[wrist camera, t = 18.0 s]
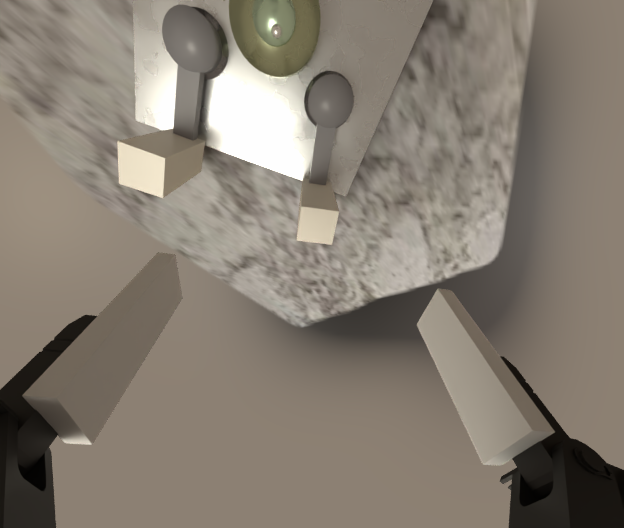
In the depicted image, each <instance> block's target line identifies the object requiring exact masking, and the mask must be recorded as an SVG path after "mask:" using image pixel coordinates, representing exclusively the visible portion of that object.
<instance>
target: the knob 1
mask: <svg viewBox="0 0 624 528" xmlns="http://www.w3.org/2000/svg"><path fill="white" fill-rule="evenodd" d="M162 35H163V40H164V44H165V46H166V49H167V51H168V53H169V54H170V56H171V57H172V59H173V60H174V61H175V62H176V63H177V64H178V68H177V82H176V96H175V111H174V125H173V129H168V130H163V131H159V132H155V133H150V134H146V135H142V136H137V137H133V138H129V139H124V140H120V141H117V142H118V167H119V184H122V185H125V186H128V187H131V188H134V189H137V190H140V191H143V192H146V193H149V194H152V195H155V196H158V197H161V198H164V197H165V196H167V195H168V194H169V193H171V192H172V191H174V190H175V189H177V188H178V187H180V186H181V185H182V184H184V183H185V182H187V181H188V180H190V179H191V178H192V177H194V176H195V175H197V174H198V173H200V172H201V169H202V161H203V154H204V146H205V141H203V140H201V139H198V138H197V135H198V127H199V119H200V110H201V102H202V93H203V85H204V76H205V74H208V73H211V72H213V71H214V70H215V69H216V68H217V67H218V65H219V63H220V61H221V57H222V44H221V40H220V36H219V34H218V32H217V30H216V28H215V27H214V25H213V24H212V23H211V21H209V20H208V19H207V18H206V17H205V16H204V15H202V14H201V13H200V12H198V11H197V10H196V9H194V8H193V7H190V6H188V5H176V6H173V7H172V8H170V9H169V10H168V11H167V13H166V14H165V16H164V19H163V23H162Z"/></svg>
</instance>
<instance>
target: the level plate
mask: <svg viewBox="0 0 624 528" xmlns="http://www.w3.org/2000/svg"><path fill="white" fill-rule="evenodd" d="M432 2H433V0H133V20H134V62H135V103H136V121H139V122H142V123H145V124H147V125H150V126H153V127H156V128H158V129H161V130H168V129H173V125H174V111H175V96H176V82H177V68H178V64H177V63H176V62H175V61H174V60H173V59H172V57H171V56H170V54H169V53H168V51H167V49H166V46H165V44H164V40H163V35H162V23H163V19H164V16H165V14H166V13H167V11H168V10H169V9H170V8H172V7H173V6H176V5H188V6H190V7H193V8H194V9H196V10H197V11H198V12H200V13H201V14H202V15H204V16H205V17H206V18H207V19H208V20H209V21H211V23H212V24H213V25H214V27H215V28H216V30H217V32H218V34H219V36H220V40H221V44H222V57H221V61H220V63H219V65H218V67H217V68H216V69H215V70H214V71H213V72H211V73H208V74H205V76H204V85H203V93H202V102H201V110H200V119H199V127H198V135H197V138H198V139H201V140H203V141H205V146H208V147H211V148H213V149H216V150H219V151H222V152H225V153H227V154H230V155H233V156H236V157H238V158H241V159H244V160H247V161H249V162H252V163H255V164H258V165H260V166H263V167H266V168H269V169H271V170H274V171H277V172H280V173H282V174H285V175H288V176H291V177H294V178H296V179H299V180H302V181H303V178H304V179H309V177H310V169H311V162H312V155H313V148H314V141H315V133H316V126H317V123H316V122H315V121H314V119H313V118H312V116H311V114H310V111H309V106H308V98H309V94H310V91H311V88H312V87H313V85H314V84H315V82H316V81H317V80H318V79H320V78H321V77H323V76H325V75H329V74H334V75H338V76H341V77H342V78H344V79H345V80H346V81H347V82H348V84H349V85H350V87H351V89H352V93H353V107H352V111H351V113H350V115H349V117H348V118H347V120H346V121H345V122H344V123H343V124H341V125H340V126H338V127H336V130H335V136H334V142H333V147H332V153H331V159H330V164H329V170H328V176H327V181H326V182H331V184H332V188H333V191H334V192H335V193H338V194H340V195H343V196H346V195H347V193H348V191H349V188H350V186H351V184H352V182H353V179H354V177H355V175H356V173H357V170H358V168H359V166H360V164H361V161H362V159H363V157H364V155H365V152H366V150H367V148H368V146H369V143H370V141H371V139H372V137H373V134H374V132H375V130H376V128H377V126H378V123H379V121H380V119H381V117H382V114H383V112H384V110H385V108H386V105H387V103H388V101H389V99H390V96H391V94H392V92H393V90H394V87H395V85H396V83H397V81H398V78H399V76H400V74H401V72H402V69H403V67H404V65H405V63H406V60H407V58H408V56H409V54H410V51H411V49H412V47H413V45H414V42H415V40H416V38H417V36H418V33H419V31H420V29H421V27H422V25H423V22H424V20H425V18H426V16H427V13H428V11H429V9H430V7H431V4H432Z"/></svg>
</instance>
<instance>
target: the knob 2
mask: <svg viewBox="0 0 624 528" xmlns="http://www.w3.org/2000/svg"><path fill="white" fill-rule="evenodd" d="M308 106H309V111H310V114H311V116H312V118H313V119H314V121H315V122H316V123H317V126H316V133H315V141H314V148H313V155H312V162H311V169H310V177H309V179H304V178H303V181H302V189H301V197H300V205H299V217H298V230H297V240H298V241H306V242H314V243H322V244H330V245H332V242H333V237H334V232H335V228H336V223H337V219H338V214H339V210H338V206H337V202H336V199H335V195H334V191H333V188H332V184H331V182H326V181H327V176H328V170H329V164H330V159H331V153H332V147H333V142H334V136H335V130H336V127H338V126H340V125H341V124H343V123H344V122H345V121H346V120H347V118H348V117H349V115H350V113H351V111H352V107H353V93H352V89H351V87H350V85H349V84H348V82H347V81H346V80H345V79H344V78H342V77H341V76H338V75H334V74H329V75H325V76H323V77H321V78H320V79H318V80H317V81H316V82H315V84H314V85H313V87H312V88H311V91H310V94H309V98H308Z"/></svg>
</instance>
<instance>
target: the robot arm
mask: <svg viewBox="0 0 624 528" xmlns="http://www.w3.org/2000/svg"><path fill="white" fill-rule="evenodd" d="M181 300H182V293H181V286H180V280H179V274H178V268H177V262H176V255H175V254H167V253H159V252H158V253H157V254H156V255H155V256H154V257H153V258H152V259H151V260H150V261H149V262H148V263H147V265H146V266H145V267H144V268H143V269H142V270H141V271H140V272H139V273H138V274H137V275H136V276H135V277H134V278H133V279H132V280H131V282H129V284H128V285H127V286H126V287H125V288H124V289H123V290H122V291H121V292H120V293H119V294H118V295H117V296H116V297H115V298H114V299H113V300H112V301H111V303H109V305H108V306H107V307H106V308H105V309H104V310H103V311H102V312H101V313H100V314H99V315H98V316H92V315H84V316H82V317H81V318H79V319H77V320H76V321H74V322H72V323H70V324H69V325H67V326H66V327H65V328H64V329H63V330H62V331H61V332H60V333H59V334H58V335H57V336H56V337H55V338H54V340H53V341H51V342H50V343H49V344H48V345H46V347H44V348H43V351H42V352H39V353H38V354H37V355H36V356H35V357H34V358H33V359H32V360H31V361H30V362H29V363H28V364H27V365H26V366H25V367H23V369H21V371H19V372H18V373H17V374H16V375H15V376H14V377H13V378H12V379H11V380H10V381H9V382H8V383H7V384H6V385H5V386H4V387H3V388H2V389H1V390H0V528H56V521H55V505H54V489H53V474H52V473H53V472H52V456H51V451H50V448H49V446H50V445H51V443H52V442H53V441H54V439H55V438H56V437H57V435H58V436H59V437H60V438H61V439H62V440H63V441H64V442H65V443H71V444H91V445H92V444H93V443H94V441H95V439H96V438H97V436H98V435H99V433H100V431H101V430H102V428H103V426H104V425H105V423H106V422H107V420H108V418H109V417H110V415H111V413H112V412H113V410H114V408H115V407H116V405H117V404H118V402H119V401H120V399H121V397H122V396H123V394H124V392H125V391H126V389H127V387H128V386H129V384H130V383H131V381H132V379H133V378H134V376H135V374H136V373H137V371H138V370H139V368H140V366H141V365H142V363H143V362H144V360H145V358H146V357H147V355H148V353H149V352H150V350H151V348H152V347H153V345H154V344H155V342H156V340H157V339H158V337H159V335H160V334H161V332H162V331H163V329H164V327H165V326H166V324H167V323H168V321H169V319H170V318H171V316H172V314H173V313H174V311H175V310H176V308H177V306H178V305H179V303H180V301H181ZM417 326H418V328H419V331H420V333H421V335H422V337H423V339H424V341H425V343H426V345H427V348H428V350H429V352H430V354H431V356H432V358H433V360H434V362H435V364H436V366H437V369H438V371H439V373H440V375H441V377H442V379H443V381H444V383H445V386H446V388H447V390H448V392H449V394H450V396H451V398H452V400H453V402H454V405H455V407H456V409H457V411H458V413H459V415H460V417H461V420H462V422H463V424H464V426H465V428H466V430H467V432H468V434H469V437H470V439H471V441H472V443H473V445H474V447H475V449H476V451H477V453H478V455H479V458H480V460H481V462H482V464H484V465H503V464H505V463H507V462H508V461H510V460H511V459H513V460H514V462H515V464H516V466H517V468H515V469H514V470H512V471H510V472H509V473H507V474H505V475H503V476H502V477H501V479H500V482H501V483H502V484H504V483H506V482H508V481H509V480H511V479H512V484H511V485H510V486H509V487H508V488H509V489H510V490H511V501H510V516H509V528H624V470H622V469H620V468H617V467H615V466H613V465H610V464H608V463H606V462H605V461H604V460H603V459H602V458H601V457H600V456H599V455H598V454H597V453H596V452H595V451H594V450H593V449H591V448H590V447H589V446H587V445H586V444H584V443H582V442H580V441H578V440H576V439H571V438H569V436H568V435H567V434H566V433H565V432H564V431H563V429H562V428H561V426H560V425H559V424H558V422H557V421H556V420H555V418H554V417H553V416H552V414H551V413H550V412H549V411H548V409H547V408H546V407H545V406H544V404H543V403H542V401H541V400H540V399H539V398H538V396H537V395H536V394H535V393H533V390H532V388H531V387H530V386H529V384H528V383H526V382H525V379H524V378H523V376H522V375H521V374H520V373H519V371H518V370H517V368H516V367H514V366H513V365H512V364H511V363H510V362H509V361H508V360H507V359H506V358H504V357H501V356H499V355H498V353H497V352H496V351H495V349H494V348H493V347H492V345H491V344H490V342H489V341H488V340H487V338H486V337H485V336H484V334H483V333H482V331H481V330H480V329H479V328H478V326H477V325H476V323H475V322H474V321H473V319H472V318H471V316H470V315H469V314H468V312H467V311H466V310H465V308H464V307H463V306H462V304H461V303H460V302H459V300H458V299H457V297H456V296H455V295H454V294H453V292H452V291H451V290H444V289H437V291H436V293H435V294H434V296H433V298H432V299H431V301H430V303H429V305H428V306H427V308H426V310H425V311H424V313H423V315H422V316H421V318H420V320H419V322H418V323H417Z"/></svg>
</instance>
